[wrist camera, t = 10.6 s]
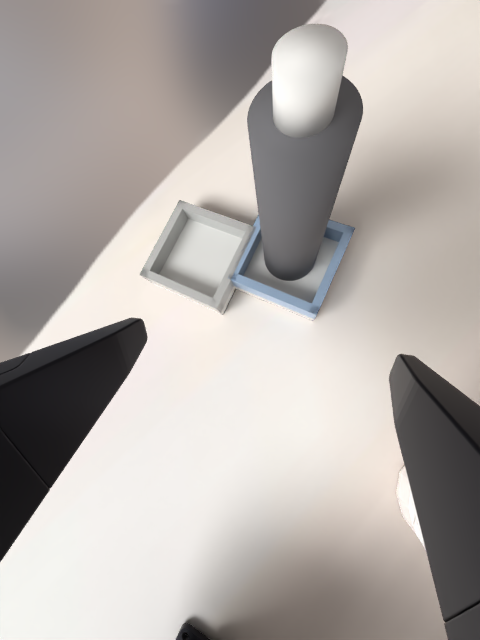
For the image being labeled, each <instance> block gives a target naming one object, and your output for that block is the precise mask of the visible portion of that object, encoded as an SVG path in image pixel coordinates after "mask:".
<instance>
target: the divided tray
mask: <svg viewBox="0 0 480 640" xmlns="http://www.w3.org/2000/svg"><path fill="white" fill-rule="evenodd" d="M354 230H355V228H354V227H351V226H347V225H344V224H341V223H338V222H335V221H332V220H329V221H328V224H327V227H326V230H325V234H324V237H323V240H322V243H321V246H320V249H319V252H318V255H317V258H316V261H315V264H314V267H313V269H312V270H311V271H310V272H309V273H308V274H307V275H306V276H305V277H303V278H301V279H298V280H294V281H285V280H281V279H278V278H276V277H275V276H273V275H272V274H271V273H270V272H269V271H268V269H267V267H266V265H265V260H264V252H263V244H262V236H261V228H260V220H259V215H258V217H257V219H256V221H255V223H254V225H253V226H252V225H249V224H246V223H243V222H240V221H238V220H235V219H232V218H229V217H226V216H223V215H221V214H218V213H215V212H212V211H209V210H206V209H204V208H201V207H198V206H195V205H192V204H189V203H187V202H184V201H181V200H179V202H178V204H177V206H176V208H175V209H174V211H173V213H172V215H171V217H170V219H169V221H168V222H167V224H166V226H165V228H164V230H163V232H162V234H161V236H160V237H159V239H158V241H157V243H156V245H155V247H154V249H153V250H152V252H151V254H150V256H149V258H148V260H147V262H146V264H145V265H144V267H143V269H142V271H141V273H140V275H141V276H142V277H144V278H145V279H147V280H148V281H150V282H151V283H153V284H155V285H157V286H159V287H161V288H164V289H166V290H168V291H170V292H173V293H175V294H177V295H179V296H181V297H184V298H186V299H188V300H190V301H193V302H195V303H197V304H199V305H202V306H204V307H206V308H208V309H210V310H213V311H215V312H217V313H219V314H222V315H223V313H224V311H225V309H226V307H227V305H228V303H229V301H230V299H231V297H232V295H233V293H234V291H235V289H238V290H240V291H243V292H245V293H247V294H250V295H252V296H254V297H257V298H259V299H262V300H264V301H266V302H269V303H271V304H274V305H276V306H278V307H281V308H283V309H286V310H288V311H290V312H293V313H295V314H297V315H300V316H302V317H305V318H307V319H309V320H312V321H313V320H314V319H315V317H316V316H317V313H318V311H319V309H320V307H321V304H322V302H323V300H324V298H325V295H326V293H327V291H328V289H329V286H330V284H331V282H332V279H333V277H334V275H335V273H336V270H337V268H338V266H339V264H340V261H341V259H342V257H343V254H344V252H345V250H346V248H347V245H348V243H349V241H350V239H351V236H352V234H353V232H354Z"/></svg>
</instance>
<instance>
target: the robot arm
mask: <svg viewBox="0 0 480 640" xmlns="http://www.w3.org/2000/svg"><path fill="white" fill-rule="evenodd" d="M146 342H147V333H146V329H145V325H144V321H143V320H142V319H140V318H129V319H126V320H123V321H120V322H117V323H114V324H112V325H109V326H106V327H103V328H100V329H97V330H94V331H91V332H88V333H86V334H83V335H80V336H77V337H74V338H71V339H68V340H65V341H63V342H60V343H57V344H54V345H51V346H48V347H45V348H42V349H40V350H37V351H34V352H32V353H28V354H25V355H22V356H19V357H16V358H13V359H11V360H7V361H4V362H1V363H0V562H1V560H2V559H3V557H4V556H5V555H6V553H7V552H8V550H9V549H10V547H11V546H12V544H13V543H14V541H15V540H16V539H17V537H18V536H19V534H20V533H21V531H22V530H23V528H24V527H25V525H26V524H27V522H28V521H29V520H30V518H31V517H32V515H33V514H34V512H35V511H36V509H37V508H38V506H39V505H40V503H41V502H42V501H43V499H44V498H45V496H46V495H47V493H48V492H49V490H50V489H49V488H51V487H52V486H53V484H54V483H55V481H56V480H57V478H58V477H59V475H60V474H61V473H62V471H63V470H64V468H65V467H66V465H67V464H68V462H69V461H70V459H71V458H72V456H73V455H74V454H75V452H76V451H77V449H78V448H79V446H80V445H81V443H82V442H83V440H84V439H85V438H86V436H87V435H88V433H89V432H90V430H91V429H92V427H93V426H94V424H95V423H96V421H97V420H98V419H99V417H100V416H101V414H102V413H103V411H104V410H105V408H106V407H107V405H108V404H109V403H110V401H111V400H112V398H113V397H114V395H115V394H116V392H117V391H118V389H119V388H120V386H121V385H122V384H123V382H124V381H125V379H126V378H127V376H128V375H129V373H130V371H131V370H132V368H133V366H134V364H135V362H136V360H137V359H138V357H139V355H140V353H141V351H142V349H143V348H144V346H145V344H146ZM389 382H390V391H391V399H392V407H393V416H394V423H395V428H396V432H397V436H398V440H399V444H400V448H401V452H402V456H403V460H404V464H405V468H406V472H407V476H408V480H409V484H410V488H411V492H412V496H413V500H414V504H415V508H416V512H417V516H418V520H419V524H420V528H421V532H422V536H423V540H424V544H425V548H426V552H427V556H428V560H429V564H430V568H431V572H432V576H433V580H434V584H435V588H436V592H437V596H438V600H439V604H440V608H441V612H442V616H443V620H444V621H445V624H444V625H445V629H446V633H447V637H448V640H480V406H479V405H478V404H476V403H475V402H474V401H472V400H471V399H470V398H468V397H467V396H466V395H465V394H463V393H462V392H461V391H459V390H458V389H457V388H455V387H454V386H453V385H451V384H450V383H449V382H448V381H446V380H445V379H444V378H442V377H441V376H440V375H438V374H437V373H436V372H435V371H433V370H432V369H431V368H429V367H428V366H427V365H425V364H424V363H423V362H421V361H420V360H419V359H418V358H416V357H415V356H412V355H405V354H399V355H398V356H397V357H396V359H395V362H394V365H393V367H392V370H391V372H390V376H389ZM184 632H186V633H187V634H188V635H185V633H184ZM176 640H210V639H209V638H207V637H206V636H205V635H203V634H202V633H201V632H200V631H198V630H197V629H196V628H194V627H193V626H192V625H190V624H189V623H185V624H183V625H182V627H181V629H180V631H179V633H178V636H177V638H176Z"/></svg>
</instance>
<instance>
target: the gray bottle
mask: <svg viewBox="0 0 480 640" xmlns="http://www.w3.org/2000/svg"><path fill="white" fill-rule="evenodd" d="M347 51H348V45H347V41H346V38H345V37H344V35H343V34H342V33H341V32H340V31H339V30H337V29H336V28H334V27H332V26H328V25H324V24H308V25H303V26H300V27H298V28H295V29H293V30H291V31H289V32H288V33H286V34H285V35H284V36H282V38H280V39H279V41H278V42H277V43H276V45H275V47H274V49H273V52H272V81H270V82H269V83H268V84H266V85H265V86H264V87H263V88H262V89H261V90H260V91H259V92H258V93H257V95H256V96H255V98H254V99H253V101H252V103H251V105H250V108H249V111H248V118H247V123H248V132H249V140H250V148H251V156H252V164H253V172H254V180H255V188H256V196H257V204H258V212H259V220H260V228H261V236H262V244H263V252H264V260H265V265H266V267H267V269H268V271H269V272H270V273H271V274H272V275H273V276H275V277H276V278H278V279H281V280H285V281H294V280H298V279H301V278H303V277H305V276H306V275H307V274H308V273H309V272H310V271H311V270H312V269H313V267H314V264H315V261H316V258H317V255H318V252H319V249H320V246H321V243H322V240H323V237H324V234H325V230H326V227H327V224H328V221H329V218H330V215H331V212H332V209H333V206H334V203H335V200H336V196H337V193H338V190H339V187H340V184H341V181H342V178H343V175H344V172H345V169H346V166H347V162H348V159H349V156H350V153H351V150H352V147H353V144H354V141H355V138H356V135H357V132H358V128H359V125H360V122H361V119H362V114H363V104H362V99H361V96H360V94H359V92H358V90H357V88H356V87H355V86H354V84H352V83H351V82H350V81H349V80H348V79H347V78H345V77H344V76H342V74H343V70H344V65H345V60H346V56H347Z"/></svg>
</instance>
